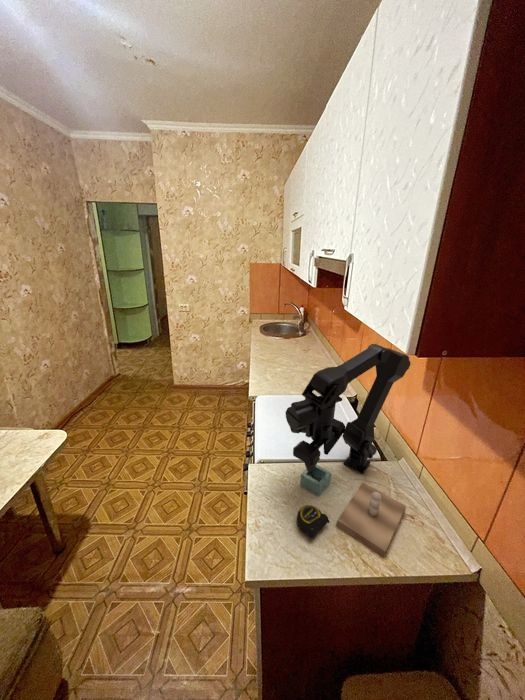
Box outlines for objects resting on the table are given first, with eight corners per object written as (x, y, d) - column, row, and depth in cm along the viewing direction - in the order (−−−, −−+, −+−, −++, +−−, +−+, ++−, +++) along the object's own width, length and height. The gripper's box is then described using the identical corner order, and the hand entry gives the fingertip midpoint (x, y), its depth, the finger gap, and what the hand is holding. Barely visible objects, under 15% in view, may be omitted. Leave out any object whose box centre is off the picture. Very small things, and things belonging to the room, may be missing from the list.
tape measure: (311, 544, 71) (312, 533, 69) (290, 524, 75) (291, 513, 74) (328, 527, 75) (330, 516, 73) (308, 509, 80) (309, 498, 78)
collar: (311, 472, 92) (312, 462, 90) (330, 483, 88) (331, 472, 86) (300, 484, 87) (301, 474, 85) (319, 496, 83) (320, 486, 82)
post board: (361, 487, 86) (366, 464, 83) (404, 510, 79) (411, 486, 76) (336, 525, 75) (340, 500, 72) (383, 557, 68) (390, 531, 65)
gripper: (314, 393, 90) (310, 434, 96) (277, 420, 77) (275, 467, 82) (349, 406, 83) (342, 450, 89) (314, 439, 70) (309, 488, 76)
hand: (317, 462), depth 84 cm, fingers open, 9 cm apart
